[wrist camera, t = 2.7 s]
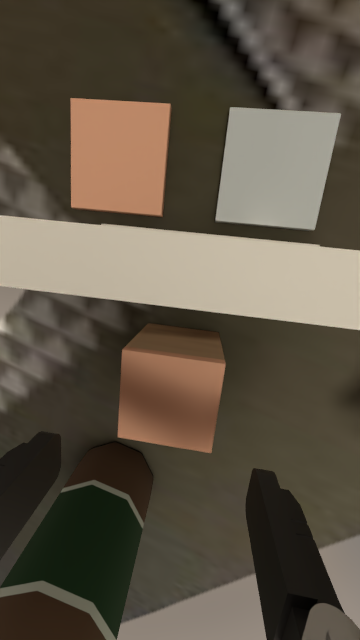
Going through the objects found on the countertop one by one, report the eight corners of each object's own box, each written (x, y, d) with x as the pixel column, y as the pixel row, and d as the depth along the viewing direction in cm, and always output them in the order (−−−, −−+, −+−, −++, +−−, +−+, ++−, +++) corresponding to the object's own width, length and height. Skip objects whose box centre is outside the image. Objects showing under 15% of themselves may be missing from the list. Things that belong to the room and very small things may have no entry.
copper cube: (148, 323, 20) (122, 349, 13) (218, 332, 19) (225, 364, 13) (143, 386, 21) (117, 437, 15) (209, 395, 21) (211, 453, 14)
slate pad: (229, 113, 16) (230, 107, 15) (335, 119, 15) (341, 113, 15) (214, 222, 17) (215, 220, 17) (310, 231, 17) (314, 229, 16)
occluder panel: (105, 225, 18) (-175, 107, 5) (314, 246, 17) (735, 166, 4) (103, 288, 20) (-126, 338, 6) (299, 312, 18) (573, 441, 5)
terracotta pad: (75, 103, 17) (70, 98, 16) (171, 109, 16) (170, 103, 16) (75, 209, 18) (71, 207, 18) (162, 217, 18) (161, 215, 17)
